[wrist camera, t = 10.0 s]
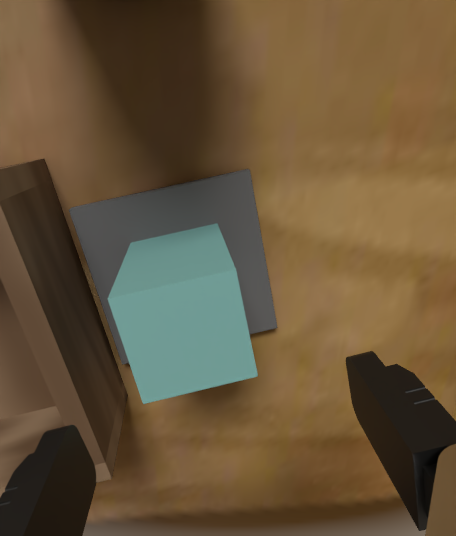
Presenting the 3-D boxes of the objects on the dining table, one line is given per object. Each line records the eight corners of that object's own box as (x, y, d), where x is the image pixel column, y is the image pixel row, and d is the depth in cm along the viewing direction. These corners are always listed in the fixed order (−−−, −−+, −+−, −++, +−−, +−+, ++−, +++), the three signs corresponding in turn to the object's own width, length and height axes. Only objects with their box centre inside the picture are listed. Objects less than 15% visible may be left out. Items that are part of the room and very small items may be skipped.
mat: (247, 168, 20) (249, 170, 20) (274, 322, 23) (277, 327, 23) (71, 207, 20) (68, 209, 19) (123, 358, 23) (122, 364, 22)
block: (217, 223, 20) (235, 269, 14) (233, 301, 22) (257, 376, 15) (130, 242, 20) (107, 298, 14) (153, 320, 22) (143, 404, 15)
